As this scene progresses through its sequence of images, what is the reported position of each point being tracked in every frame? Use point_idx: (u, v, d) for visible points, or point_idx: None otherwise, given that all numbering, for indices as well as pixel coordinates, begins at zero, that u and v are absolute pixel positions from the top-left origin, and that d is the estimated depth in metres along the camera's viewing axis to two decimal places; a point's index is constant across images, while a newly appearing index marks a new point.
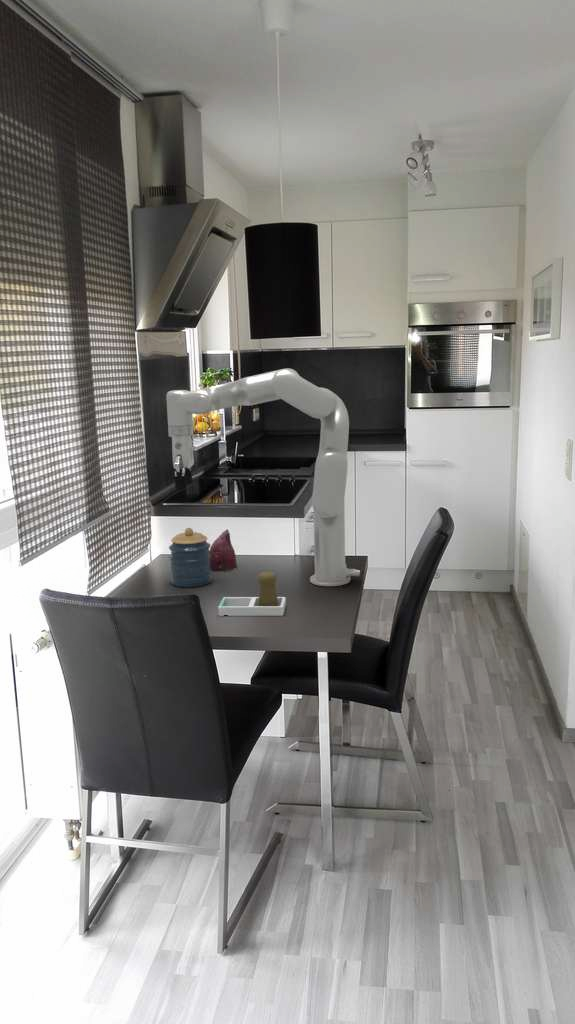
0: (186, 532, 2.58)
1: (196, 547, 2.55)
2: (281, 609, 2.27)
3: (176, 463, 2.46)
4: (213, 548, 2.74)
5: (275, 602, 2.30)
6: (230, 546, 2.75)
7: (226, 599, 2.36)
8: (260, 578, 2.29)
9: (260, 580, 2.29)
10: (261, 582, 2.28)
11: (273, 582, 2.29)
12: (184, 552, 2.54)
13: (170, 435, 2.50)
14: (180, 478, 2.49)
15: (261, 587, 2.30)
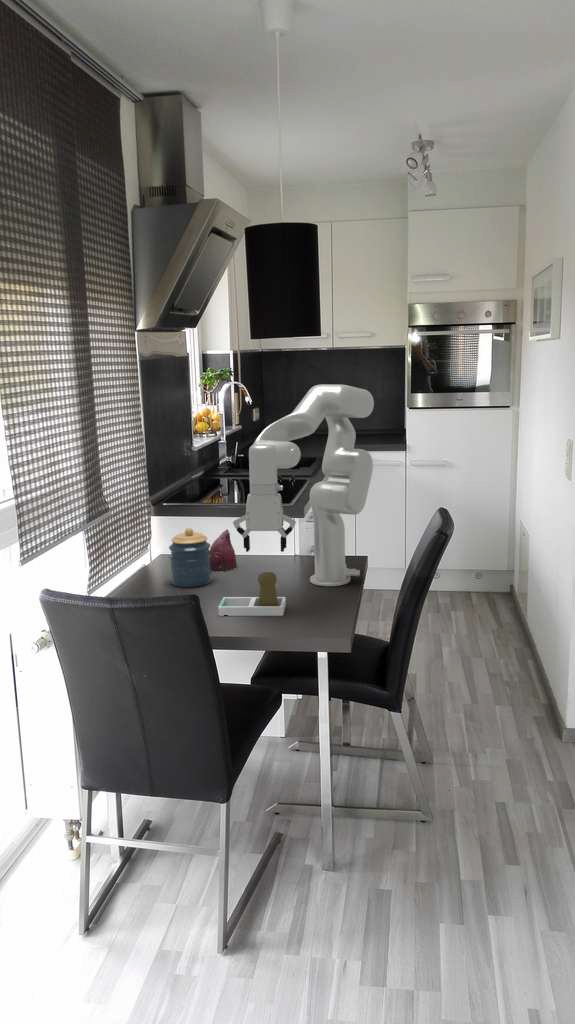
0: (186, 532, 2.58)
1: (196, 547, 2.55)
2: (281, 609, 2.27)
3: (294, 521, 2.26)
4: (213, 548, 2.74)
5: (275, 602, 2.30)
6: (230, 546, 2.75)
7: (226, 599, 2.36)
8: (260, 578, 2.29)
9: (260, 580, 2.29)
10: (261, 582, 2.28)
11: (273, 582, 2.29)
12: (184, 552, 2.54)
13: (271, 495, 2.22)
14: None
15: (261, 587, 2.30)
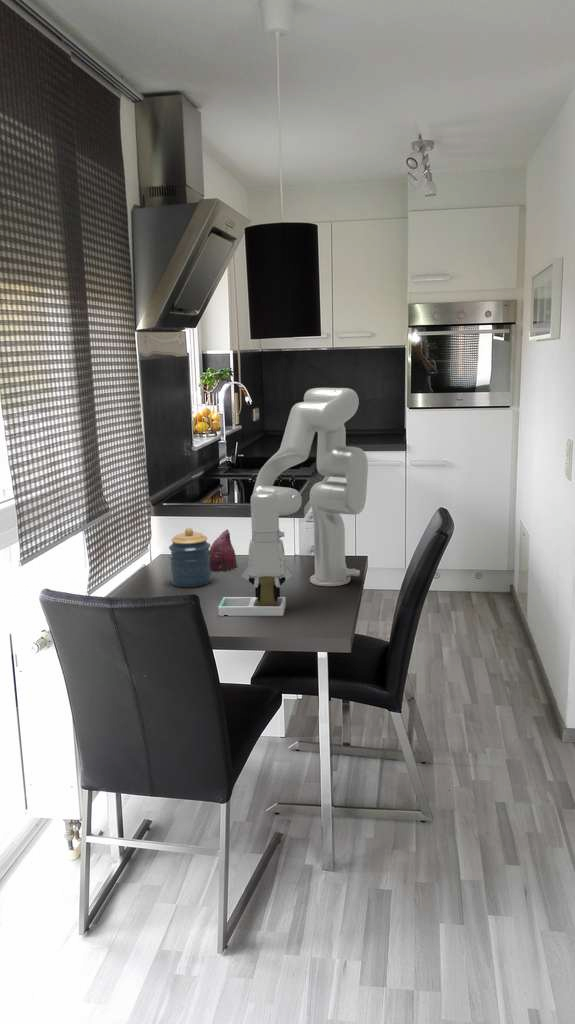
0: (186, 532, 2.58)
1: (196, 547, 2.55)
2: (281, 609, 2.27)
3: (291, 574, 2.29)
4: (213, 548, 2.74)
5: (275, 602, 2.30)
6: (230, 546, 2.75)
7: (226, 599, 2.36)
8: (260, 578, 2.29)
9: (260, 580, 2.29)
10: (261, 582, 2.28)
11: (273, 582, 2.29)
12: (184, 552, 2.54)
13: (273, 542, 2.25)
14: (279, 587, 2.31)
15: (261, 587, 2.30)
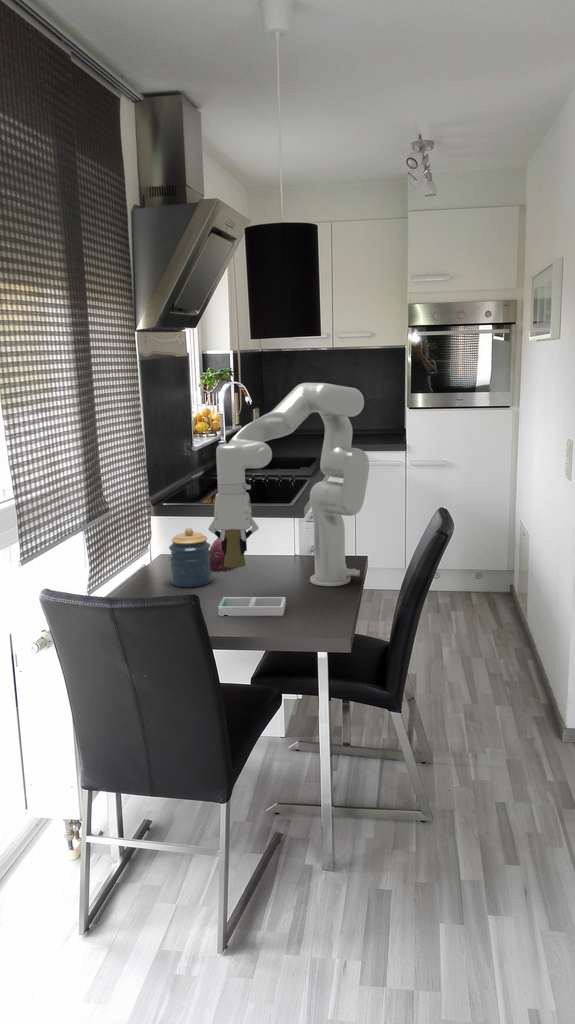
0: (186, 532, 2.58)
1: (196, 547, 2.55)
2: (281, 609, 2.27)
3: (257, 527, 2.27)
4: (213, 548, 2.74)
5: (241, 556, 2.28)
6: None
7: (226, 599, 2.36)
8: (226, 531, 2.27)
9: (226, 533, 2.27)
10: (227, 535, 2.26)
11: (239, 535, 2.27)
12: (184, 552, 2.54)
13: (239, 494, 2.23)
14: None
15: (227, 540, 2.28)
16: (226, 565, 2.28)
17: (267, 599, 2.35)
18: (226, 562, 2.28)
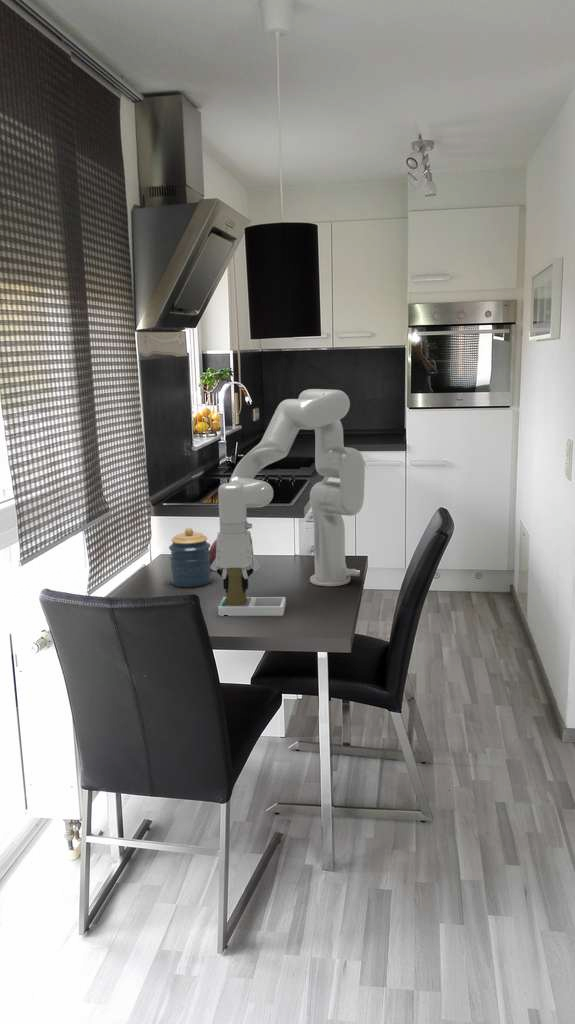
0: (186, 532, 2.58)
1: (196, 547, 2.55)
2: (281, 609, 2.27)
3: (259, 566, 2.30)
4: (213, 548, 2.74)
5: (243, 594, 2.30)
6: None
7: None
8: (227, 569, 2.29)
9: (228, 571, 2.29)
10: (229, 573, 2.29)
11: (241, 573, 2.29)
12: (184, 552, 2.54)
13: (241, 533, 2.25)
14: (247, 579, 2.31)
15: (229, 578, 2.30)
16: (228, 603, 2.30)
17: (267, 599, 2.35)
18: (228, 600, 2.30)
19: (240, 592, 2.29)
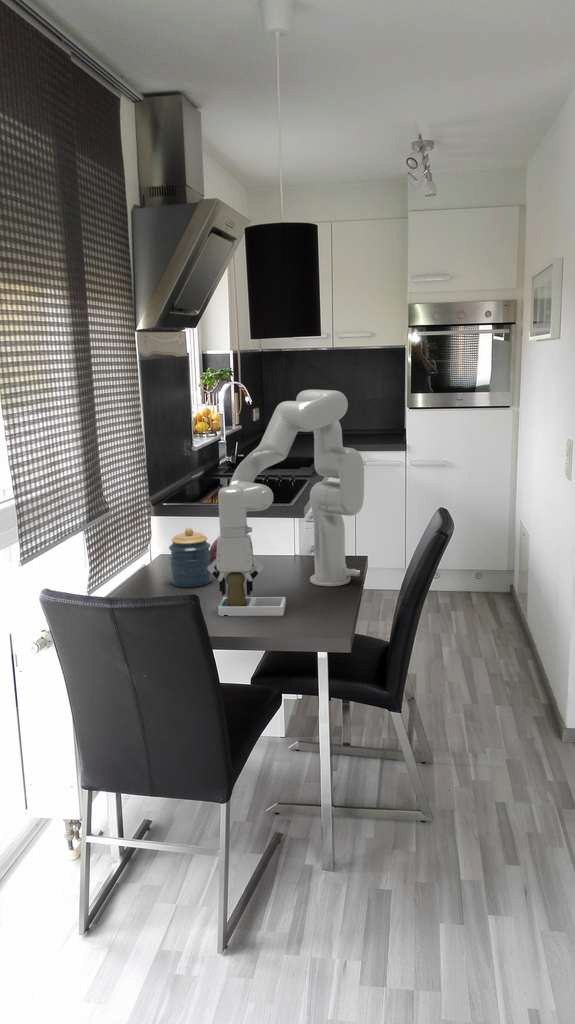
0: (186, 532, 2.58)
1: (196, 547, 2.55)
2: (281, 609, 2.27)
3: None
4: (213, 548, 2.74)
5: (243, 602, 2.31)
6: None
7: (226, 599, 2.36)
8: (227, 578, 2.30)
9: (228, 580, 2.30)
10: (229, 582, 2.29)
11: (241, 582, 2.30)
12: (184, 552, 2.54)
13: (241, 537, 2.26)
14: None
15: (229, 587, 2.31)
16: None
17: (267, 599, 2.35)
18: None
19: (240, 600, 2.30)
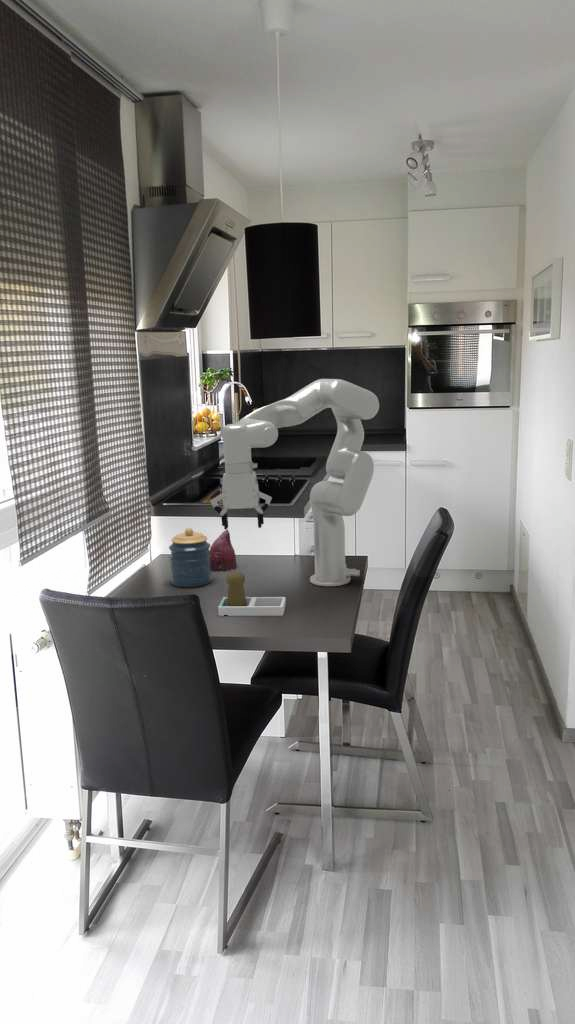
0: (186, 532, 2.58)
1: (196, 547, 2.55)
2: (281, 609, 2.27)
3: (270, 497, 2.32)
4: (213, 548, 2.74)
5: (243, 602, 2.31)
6: (230, 546, 2.75)
7: (226, 599, 2.36)
8: (228, 578, 2.30)
9: (228, 580, 2.30)
10: (229, 582, 2.29)
11: (241, 582, 2.30)
12: (184, 552, 2.54)
13: (246, 473, 2.28)
14: (262, 514, 2.34)
15: (229, 587, 2.31)
16: None
17: (267, 599, 2.35)
18: None
19: (240, 600, 2.30)
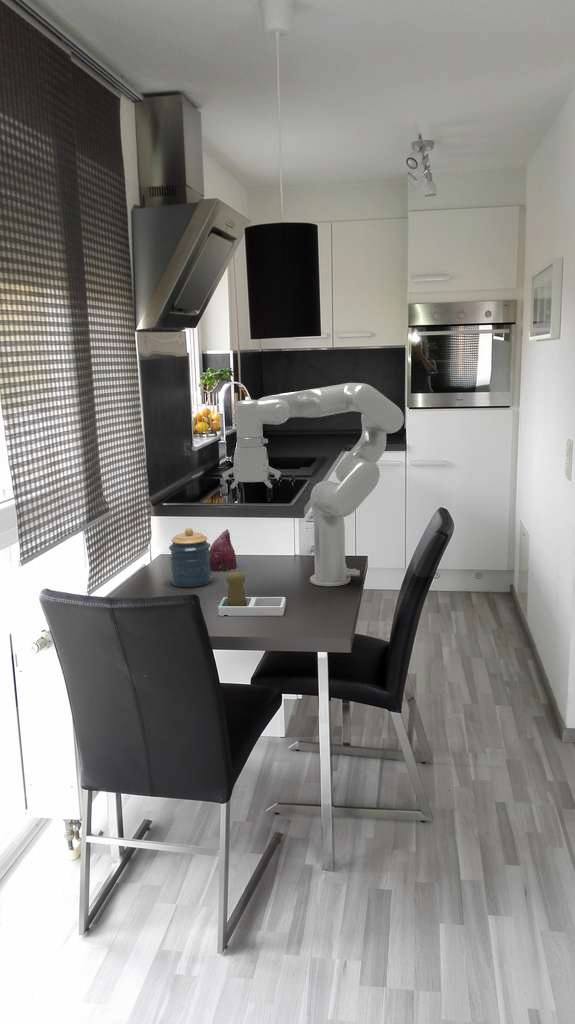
0: (186, 532, 2.58)
1: (196, 547, 2.55)
2: (281, 609, 2.27)
3: (279, 472, 2.40)
4: (213, 548, 2.74)
5: (243, 602, 2.31)
6: (230, 546, 2.75)
7: (226, 599, 2.36)
8: (228, 578, 2.30)
9: (228, 580, 2.30)
10: (229, 582, 2.29)
11: (241, 582, 2.30)
12: (184, 552, 2.54)
13: (257, 447, 2.37)
14: (271, 489, 2.42)
15: (229, 587, 2.31)
16: None
17: (267, 599, 2.35)
18: None
19: (240, 600, 2.30)
